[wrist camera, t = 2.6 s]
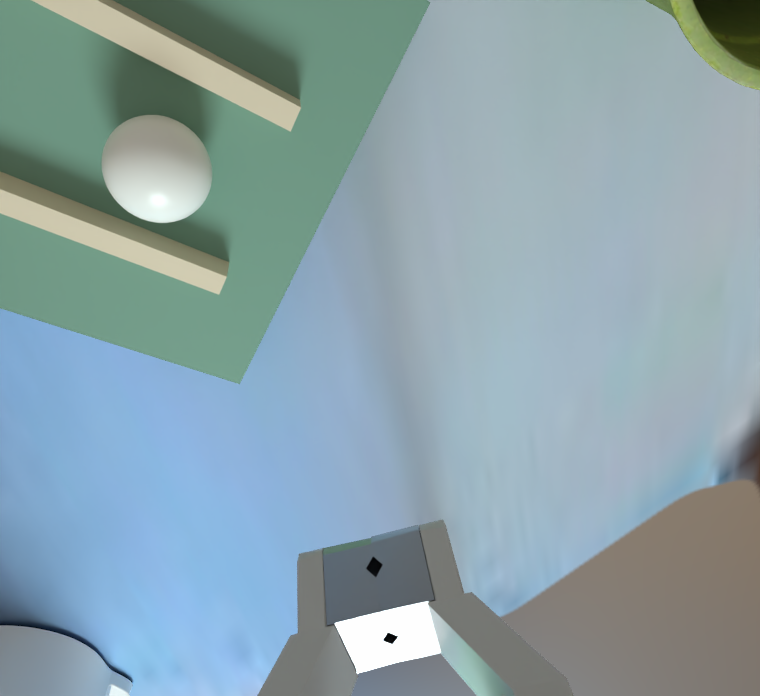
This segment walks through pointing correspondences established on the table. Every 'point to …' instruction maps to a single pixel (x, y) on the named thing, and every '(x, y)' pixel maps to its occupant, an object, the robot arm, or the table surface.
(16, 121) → the putting mat
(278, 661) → the robot arm
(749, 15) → the plant pot
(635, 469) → the table surface
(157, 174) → the ball
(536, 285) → the table surface
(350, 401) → the table surface
